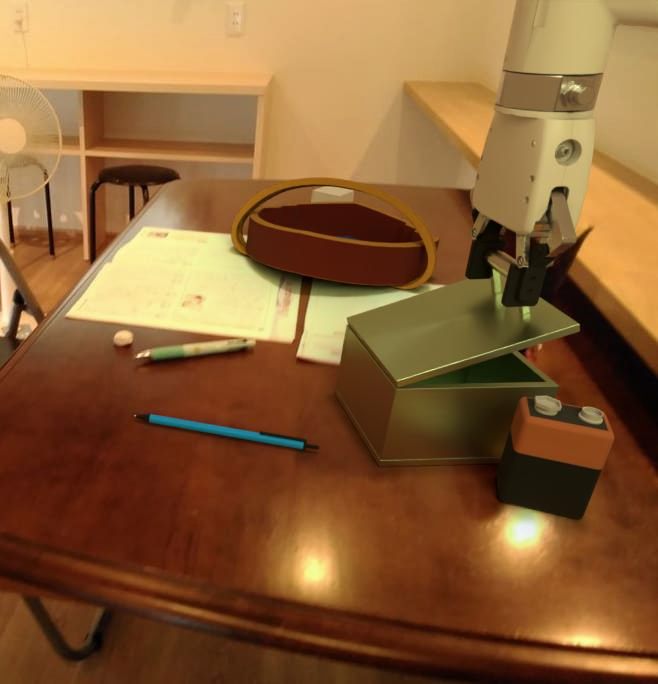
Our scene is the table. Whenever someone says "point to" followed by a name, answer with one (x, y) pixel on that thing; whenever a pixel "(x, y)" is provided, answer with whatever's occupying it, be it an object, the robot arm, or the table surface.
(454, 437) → the bin
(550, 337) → the bin lid
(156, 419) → the pen
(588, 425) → the battery
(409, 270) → the decorative basket
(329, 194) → the white cube
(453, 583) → the table surface
